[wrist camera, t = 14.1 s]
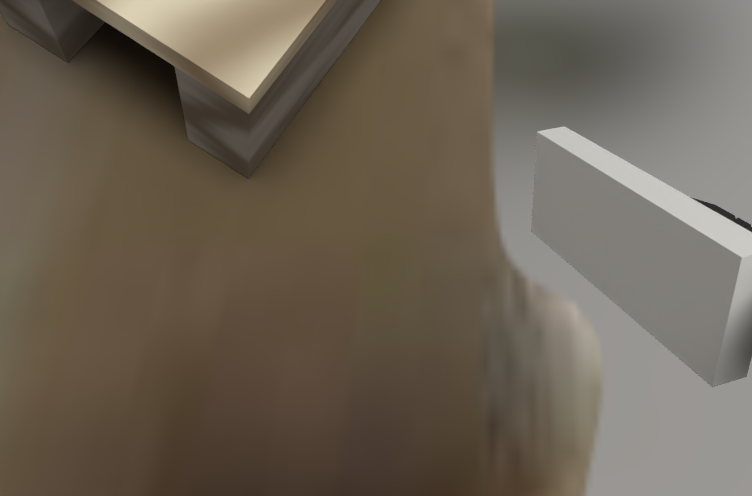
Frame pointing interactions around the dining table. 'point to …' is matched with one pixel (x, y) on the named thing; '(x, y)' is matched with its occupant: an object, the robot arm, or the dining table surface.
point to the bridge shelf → (215, 56)
